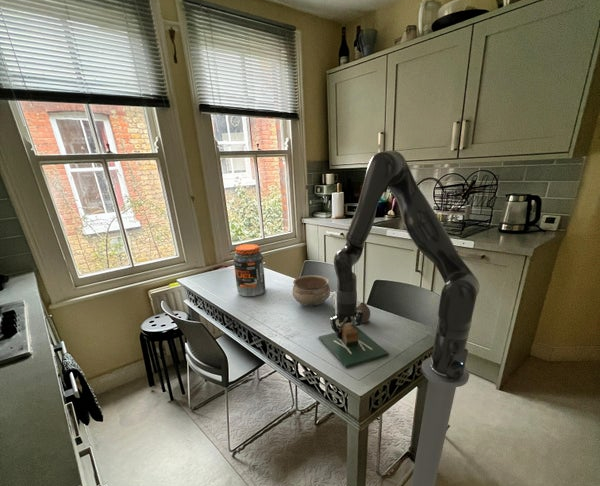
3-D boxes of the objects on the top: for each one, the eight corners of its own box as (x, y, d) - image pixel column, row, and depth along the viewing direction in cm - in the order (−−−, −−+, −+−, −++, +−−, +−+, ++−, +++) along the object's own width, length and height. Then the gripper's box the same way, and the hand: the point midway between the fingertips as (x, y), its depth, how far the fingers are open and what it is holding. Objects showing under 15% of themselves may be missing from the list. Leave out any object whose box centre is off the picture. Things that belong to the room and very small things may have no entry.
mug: (352, 316, 147) (353, 292, 142) (342, 320, 143) (343, 296, 138) (336, 309, 154) (336, 286, 149) (326, 313, 150) (326, 290, 145)
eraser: (358, 343, 123) (358, 331, 120) (346, 346, 122) (346, 334, 119) (346, 330, 132) (346, 319, 130) (335, 333, 131) (335, 321, 129)
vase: (353, 323, 140) (353, 305, 136) (355, 316, 146) (356, 299, 142) (368, 325, 138) (370, 307, 134) (370, 318, 144) (372, 301, 140)
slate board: (388, 355, 117) (388, 352, 117) (346, 367, 111) (346, 365, 111) (356, 329, 136) (356, 326, 135) (318, 338, 130) (318, 336, 129)
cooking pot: (281, 301, 164) (280, 279, 159) (309, 292, 175) (308, 271, 170) (313, 318, 146) (313, 293, 141) (342, 306, 157) (342, 283, 152)
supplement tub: (232, 295, 173) (226, 249, 163) (245, 285, 187) (240, 242, 176) (258, 298, 169) (254, 251, 158) (270, 288, 182) (266, 243, 171)
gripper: (334, 307, 114) (334, 346, 121) (368, 299, 118) (366, 337, 126) (325, 299, 120) (326, 336, 128) (358, 291, 124) (357, 328, 132)
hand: (346, 336), depth 127 cm, fingers closed on eraser, 5 cm apart
